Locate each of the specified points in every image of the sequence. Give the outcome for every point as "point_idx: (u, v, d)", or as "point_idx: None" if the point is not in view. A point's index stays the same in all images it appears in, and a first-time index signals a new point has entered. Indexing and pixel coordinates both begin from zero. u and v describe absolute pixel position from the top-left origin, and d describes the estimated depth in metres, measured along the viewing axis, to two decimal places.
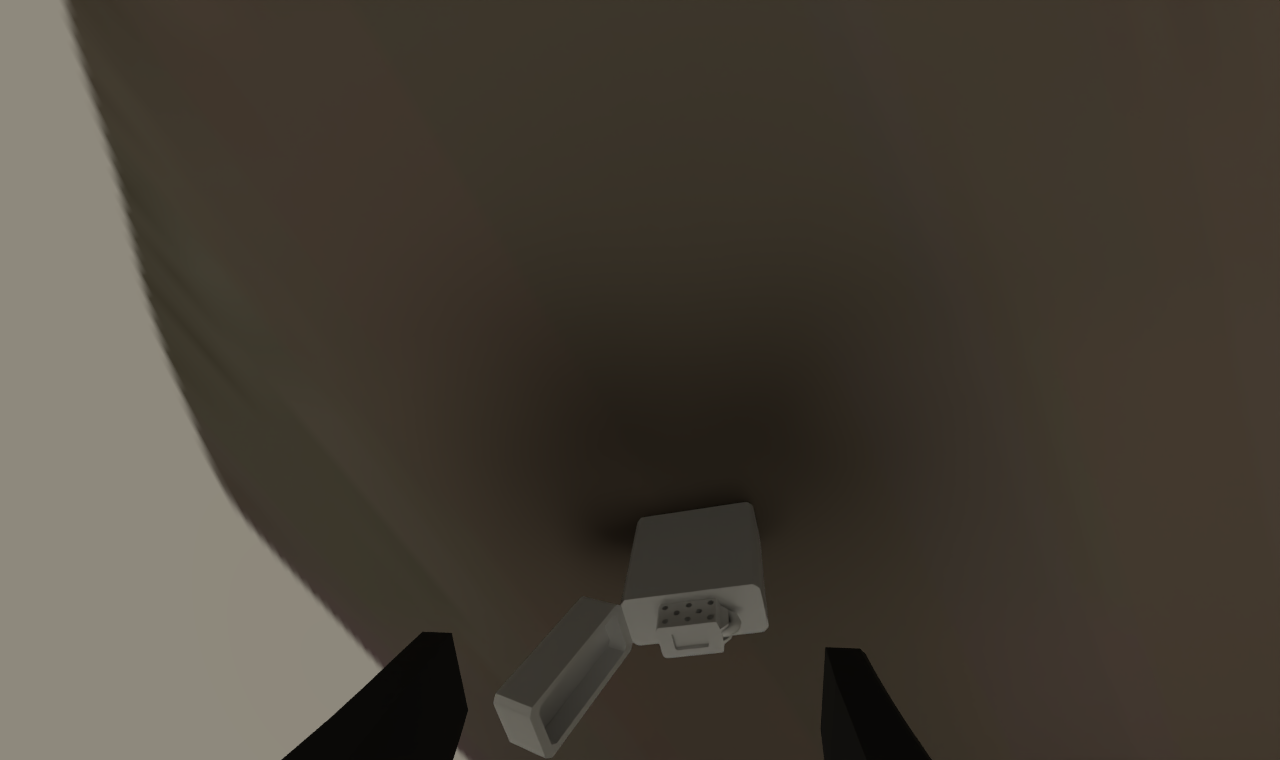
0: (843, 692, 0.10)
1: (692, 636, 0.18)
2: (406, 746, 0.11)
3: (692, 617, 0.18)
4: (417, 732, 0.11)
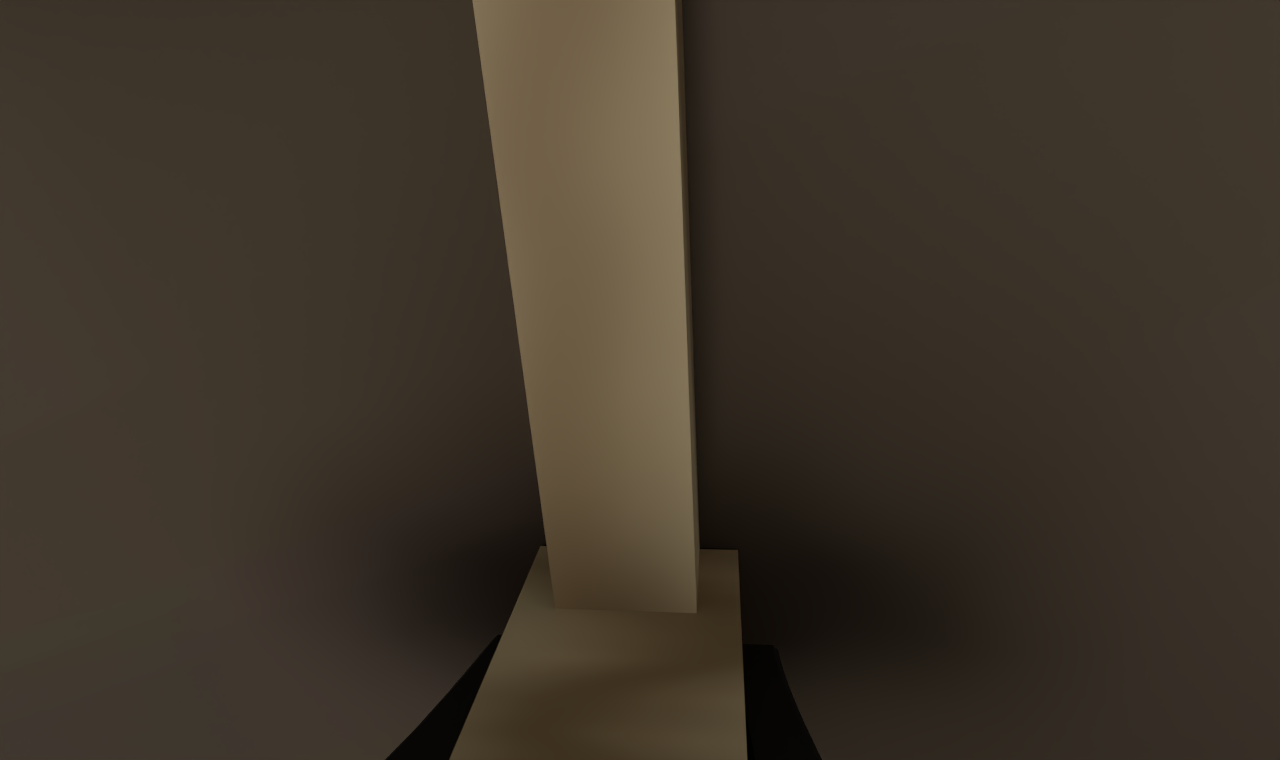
0: (745, 687, 0.10)
1: None
2: None
3: None
4: None
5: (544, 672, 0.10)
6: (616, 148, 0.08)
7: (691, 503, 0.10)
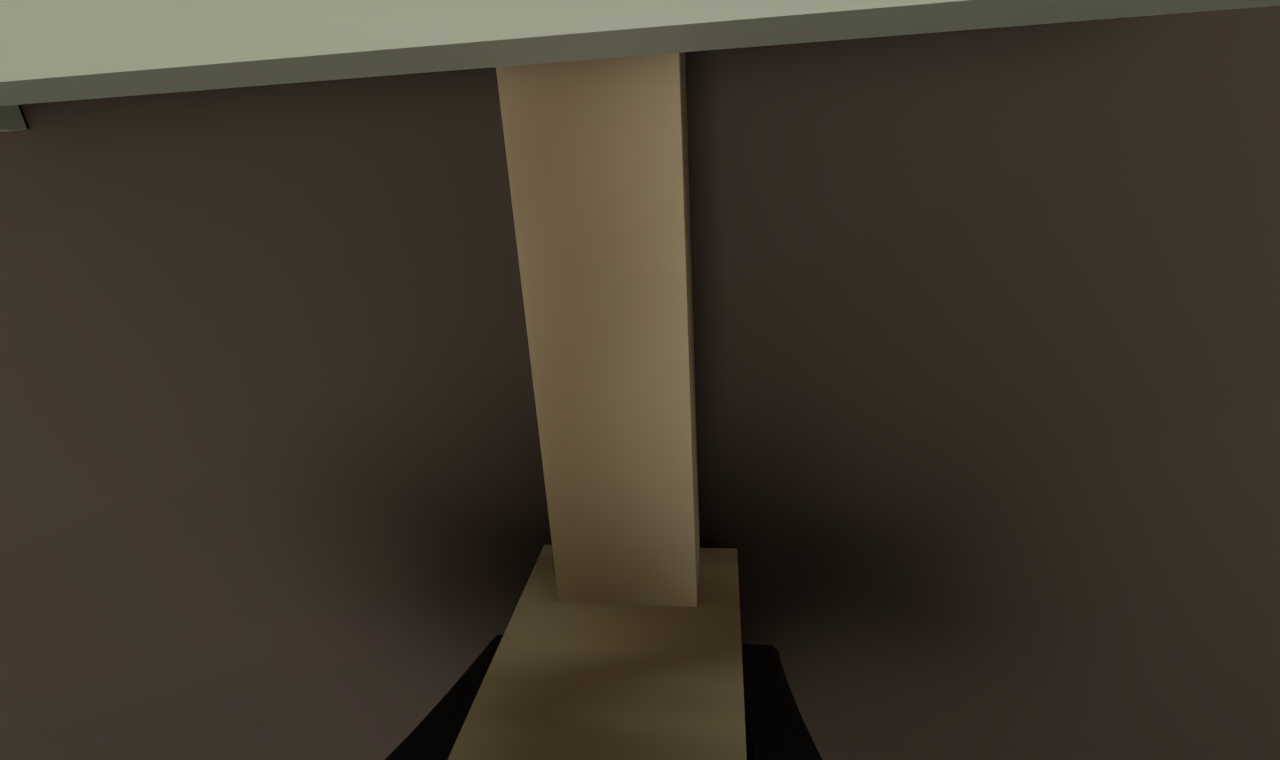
0: (746, 687, 0.10)
1: None
2: None
3: None
4: None
5: (548, 660, 0.10)
6: (622, 154, 0.09)
7: (692, 496, 0.11)
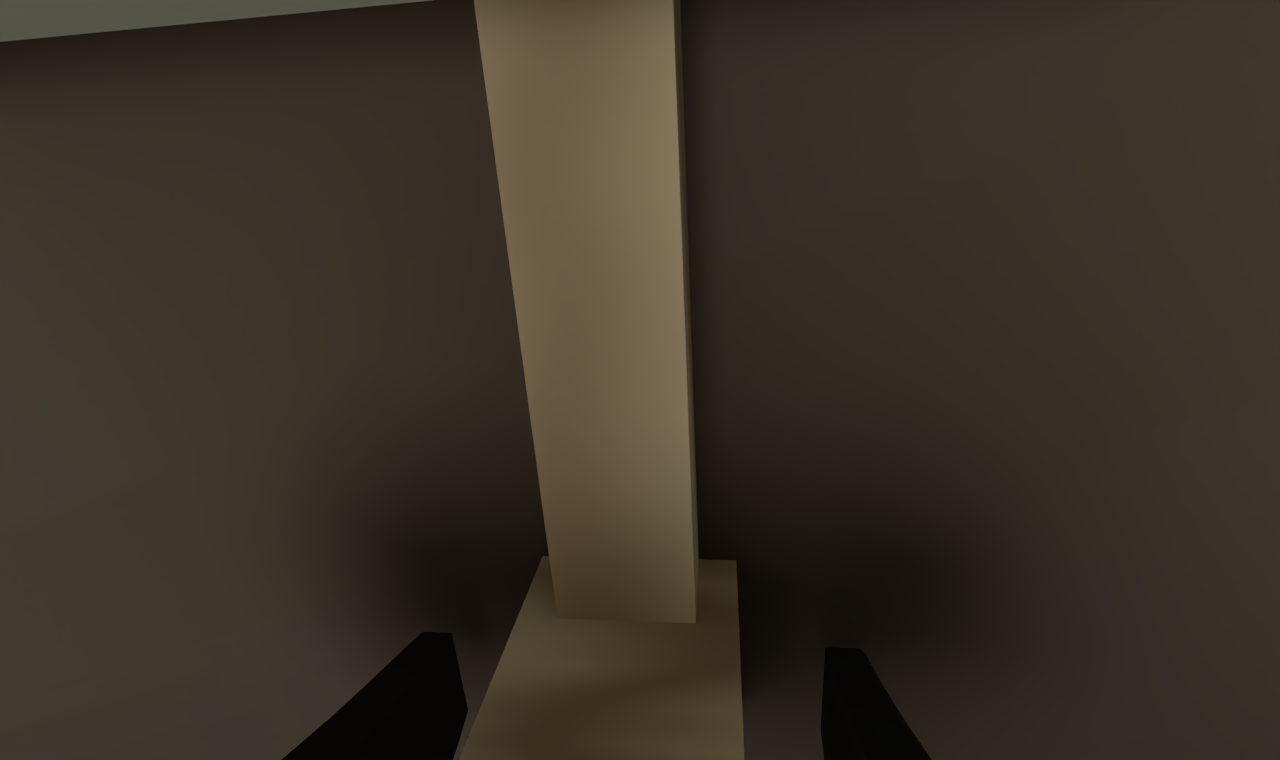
0: (843, 692, 0.10)
1: None
2: (406, 746, 0.11)
3: None
4: (417, 732, 0.11)
5: (547, 682, 0.10)
6: (617, 175, 0.09)
7: (690, 517, 0.10)
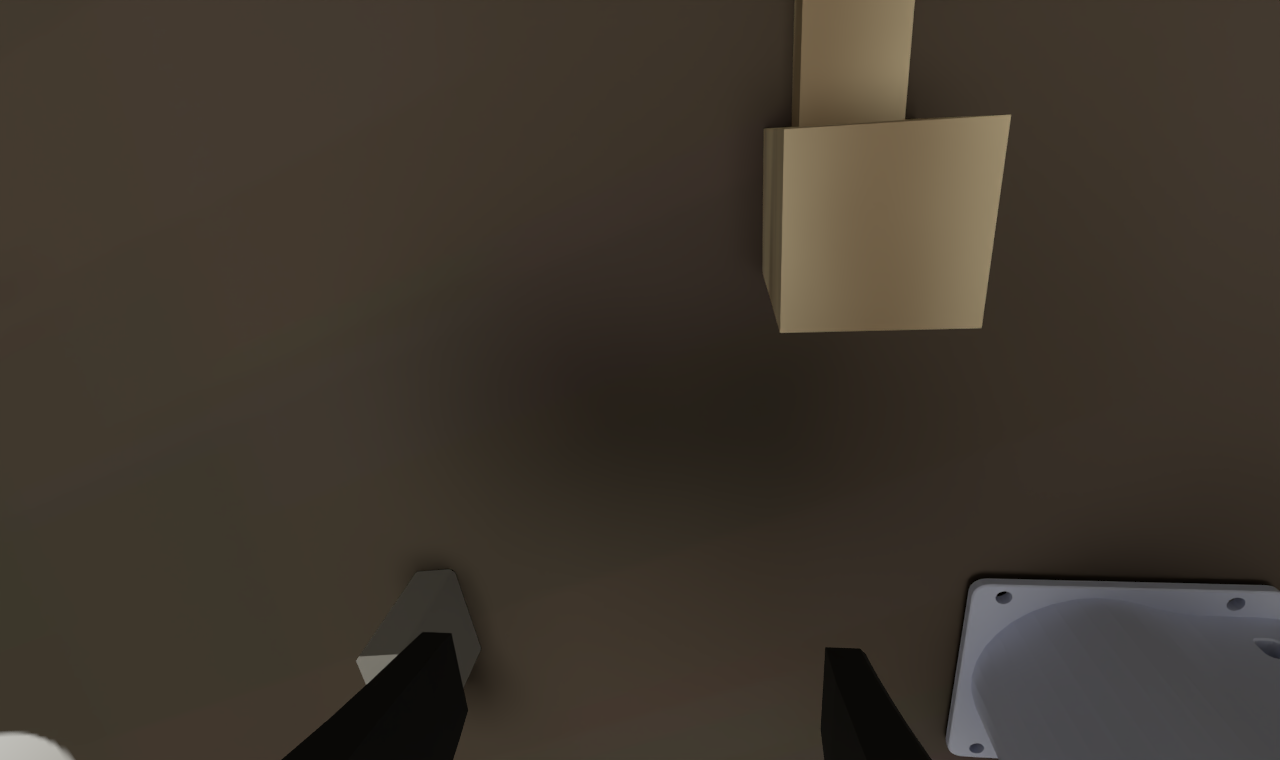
0: (843, 692, 0.10)
1: None
2: (406, 746, 0.11)
3: None
4: (417, 732, 0.11)
5: None
6: None
7: (912, 17, 0.15)
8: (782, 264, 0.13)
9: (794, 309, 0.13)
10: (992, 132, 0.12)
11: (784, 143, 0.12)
